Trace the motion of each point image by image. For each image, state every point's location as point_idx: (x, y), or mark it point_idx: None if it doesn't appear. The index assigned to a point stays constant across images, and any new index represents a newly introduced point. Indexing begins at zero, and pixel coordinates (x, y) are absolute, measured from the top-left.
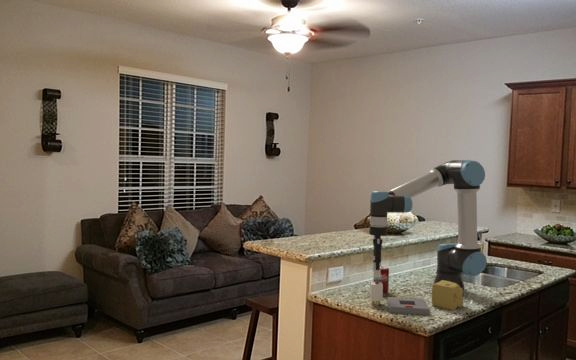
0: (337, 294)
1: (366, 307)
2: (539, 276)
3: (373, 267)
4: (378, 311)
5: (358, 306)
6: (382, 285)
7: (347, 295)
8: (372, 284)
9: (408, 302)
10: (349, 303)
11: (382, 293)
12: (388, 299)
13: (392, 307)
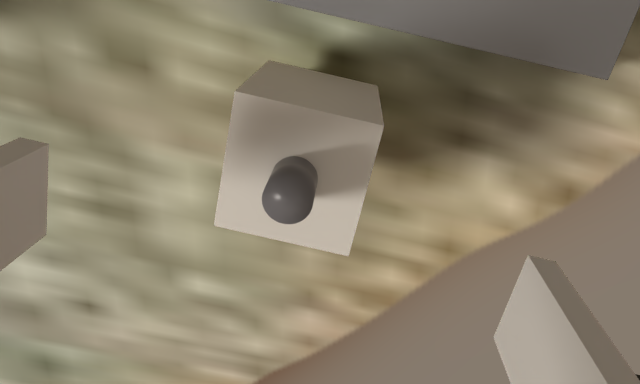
0: (47, 333)
1: (405, 216)
2: None
3: (10, 254)
4: (529, 153)
5: (374, 266)
6: (381, 128)
7: (63, 273)
8: (339, 239)
9: None
10: (291, 308)
11: (379, 102)
12: (345, 12)
13: (616, 51)
